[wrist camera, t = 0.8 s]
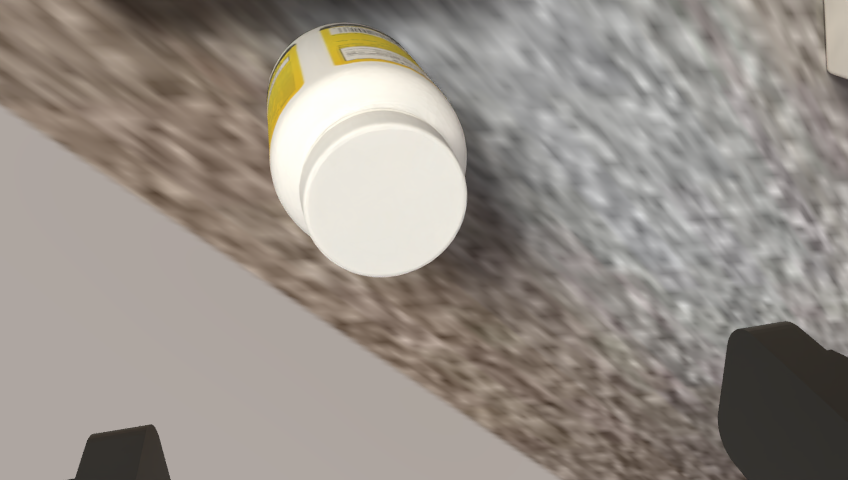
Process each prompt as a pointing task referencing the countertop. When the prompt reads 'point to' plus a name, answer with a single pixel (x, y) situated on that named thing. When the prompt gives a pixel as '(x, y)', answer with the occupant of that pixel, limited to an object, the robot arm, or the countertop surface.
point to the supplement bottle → (365, 151)
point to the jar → (836, 36)
